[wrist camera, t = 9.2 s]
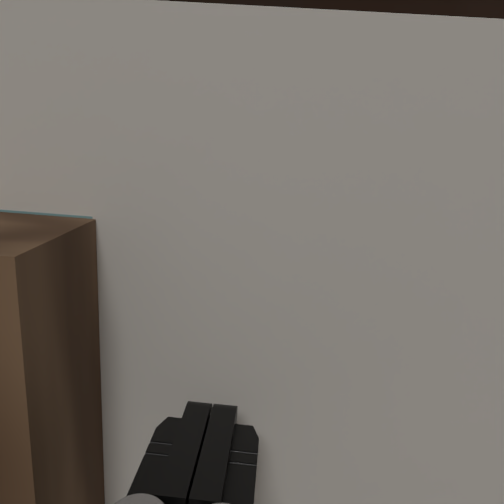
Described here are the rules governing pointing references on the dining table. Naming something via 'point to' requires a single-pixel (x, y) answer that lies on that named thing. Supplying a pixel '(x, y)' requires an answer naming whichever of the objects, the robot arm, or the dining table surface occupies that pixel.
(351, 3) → the dining table surface
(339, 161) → the mat
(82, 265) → the t block
